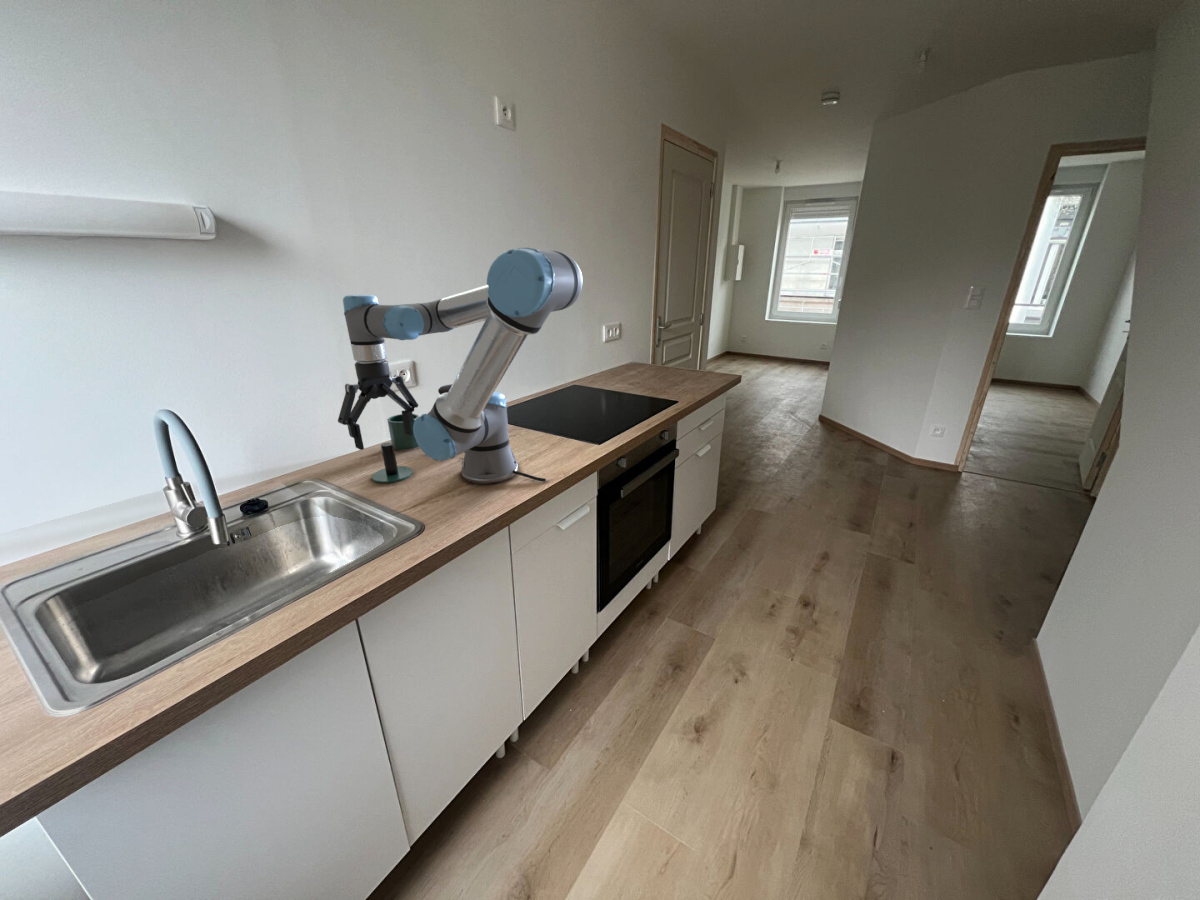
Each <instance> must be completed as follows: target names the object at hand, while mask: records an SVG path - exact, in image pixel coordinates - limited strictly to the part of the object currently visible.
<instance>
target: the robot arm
mask: <svg viewBox="0 0 1200 900" xmlns="http://www.w3.org/2000/svg"><path fill="white" fill-rule="evenodd" d="M486 276H487V277H486V285H483V286H479V287H476V288H472V289H470V290H466V291H462V292H459V293H456V294H452V295H449V296H446V297H443V298H440V299H436V300H433V301H428V302H419V303H404V304H380V303H379V300H378V297H377V296H376V295H374V294H348V295H345V296H344V297H343V298H342V304H343V305H342V306H343V316H344V317H345V318H344V319H345V323H346V328H347V333H348V337H349V343H350V347H351V352H352V353H351V354H352V359H353V360H354V361H355V362H354V369H355V375H356V378H357V383H354V384H350V383H345V385H344V392H345V393H344V397H343V401H342V404H341V408H340V411H339V415H338V418H337V422H338V424H340V425H344V426H347V430H348V435H349V437H350V438H353V441H354V445H355V449H358V450H360V451H363V450H365V446H364V440H363V437H362V431H361V427H360V424H358V423H357V422H358V421H359V419H360V417H361V415H362V413H363V411H364V410H365V408H366V406H367V404H368V403H369V402H370V401H371V400H372V399H373V400H375V399H378V398H385V397H387V396H388V397H389V398H390V399H391V400H392V401H394V402H395V403H396V405H397V404H398V405H399V406H400V407H401V408H402V409H403V410H401V414H402V417H403V423H404V430H405V434H408V435H410V436H411V435H413V431H414V436H415V439H416V442H417V444H418V446H419V448H420V449H419V450H421V451H422V452H423V454H425V455H426V456H427V457H428V458H430V459H431V460H433V461H437V462H438V461H439V462H446V461H448V460H451V459H454V458H456V457H457V456H459V455H460V454H462V453H464V456H463V459H461V460H462V461H461V477H462V478H463V479H464V480H466V481H468V482H469V483H471V484H477V485H490V484H497V483H502V482H505V481H508V480H510V479H511V478H514V477H515V476H516V475H518V476H521V477H525V478H528V479H531V480H535V481H539V482H543V483H544V482H546V481H547V479H546V478H543V477H538V476H534V475H531V474H528V473H525V472H522V471H519V464H518V461H517V459H516V457H515V454H514V452H513V450H512V447H511V445H510V436H509V435H510V434H509V433H510V432H509V421H508V406H507V401H506V397H505V395H504V394H503V393H502V392H500V391H496V389H497V387H498V386H499V384H500V382H501V381H502V379H503V378H504V376H505V374H506V372H507V370H509V368H510V366H511V364H512V363H513V361H514V359H515V357H516V356H517V354H518V352H519V351H520V349H521V347H522V345H523V344H524V342H525V341H526V339H527V337H528V336H529V335H536V334H538V333H539V332H540V330H541V329H542V327H543V325H544V324H545V322H546V321H547V319H548V317H549V316H550V314H551V313H553V312H558V311H563V310H566V309H568V308H570V307H571V306H573V305H574V304H575V303H576V302H577V300H578V299H579V297H580V295H581V293H582V289H583V284H584V282H583V274H582V271H581V268H580V266H579V264H578V263H577V262H576V260H574V258H573V257H571V255H569V254H567V253H565V252H562V251H560V250H559V251H558V250H545V249H536V248H532V247H517V248H512V249H508V250H506V251H503V252H502V253H500V254H499V255H498V256H497V257H496V258H495V259H494V260H493V261H492V263H491V265H490V266H489V269H488V272H487V275H486ZM482 322H484V323H483V324H482V326H481V328H480V330H479V332H478V334H477V336H476V338H475V340H474V342H473V344H472V346H471V348H470V349H469V351H468V354H467V355H466V357H465V359H464V361H463V363H462V365H461V367H460V369H459V371H458V372H457V374H456V376H455V379H454V380H453V382H452V383H451V384H452V386H451V388H450V390H449V392H447V393H443V394H441V395H440V394H439V396H438V397H436V400H435V402H434V403H433V406H432V407H431V410H429V412H427V413H423V414H421V415H420V416H419V417H418V418H417V419H416V420H415V422H414V426H413V431H412V424H411V422H413V414H414V413H413V412H415V409H416V408H418V407H419V403H418V402H417V400H416V399H415V397H414V395H413V394H412V393H411V392H410V391H409V389H408V387H407V386H406V384H405V381H404V377H403V376H401V375H397V374H393V376H392V377H391V371H390V366H389V361H388V360H387V358H388V353H387V348H386V342H385V339H393V340H399V341H407V340H408V341H412V340H416V339H418V338H419V337H420V336H425V335H430V334H438V333H447V332H451V331H453V330H454V329H457V328H461V327H465V326H468V325H473V324H477V323H482ZM393 385H395V387H396V388H397V389H398V391H399V392H400V393H401V395H402V397H403V398H404V399H403V398H402V397H401V396H399V395H398V394H397V393H396V392H395V391H394V390H393V389H392V386H393ZM358 390H359V391H360V393H359V395H358V397H357V398H358V399H357V401H356V402H355V398H356V393H358ZM354 402H355V404H354ZM353 405H354V406H353Z"/></svg>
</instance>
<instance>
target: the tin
mask: <svg viewBox="0 0 1200 900" xmlns="http://www.w3.org/2000/svg"><path fill="white" fill-rule="evenodd" d="M418 417H420V416H419V414H416V413H413V422H411V424H412V431H413V426H414V422H415V420H416V419H417V418H418ZM386 420H387V426H388V432H389V437H390V442H391V443H393V446H394V450H412V449H415V448H418V447H419V446H418V444H417V442H416V439H415V436H414V431H413V435H411V436H410V435H408V434H405V430H404V423H403V417H402V413H400V414H395V415H392V416H389V417H388V418H387V419H386ZM419 448H420V447H419Z"/></svg>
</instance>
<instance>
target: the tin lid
mask: <svg viewBox="0 0 1200 900" xmlns="http://www.w3.org/2000/svg"><path fill="white" fill-rule="evenodd" d="M380 450H381V454H382V459H383V464H384V468H382V469H379V470H377V471H375V472H373V474H372V475H371V480H372V481H373V482H374V483H376V484H393V483H398V482H402V481H405V480H407V479H408V478H410V477H411V476H412V475H413V473H414V472H413V469H412V468H411V467H410V466H405V465H398V463H397V458H396V453H395V448H394V446H393V443H391V441H390V442H383V443H381V444H380Z"/></svg>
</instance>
